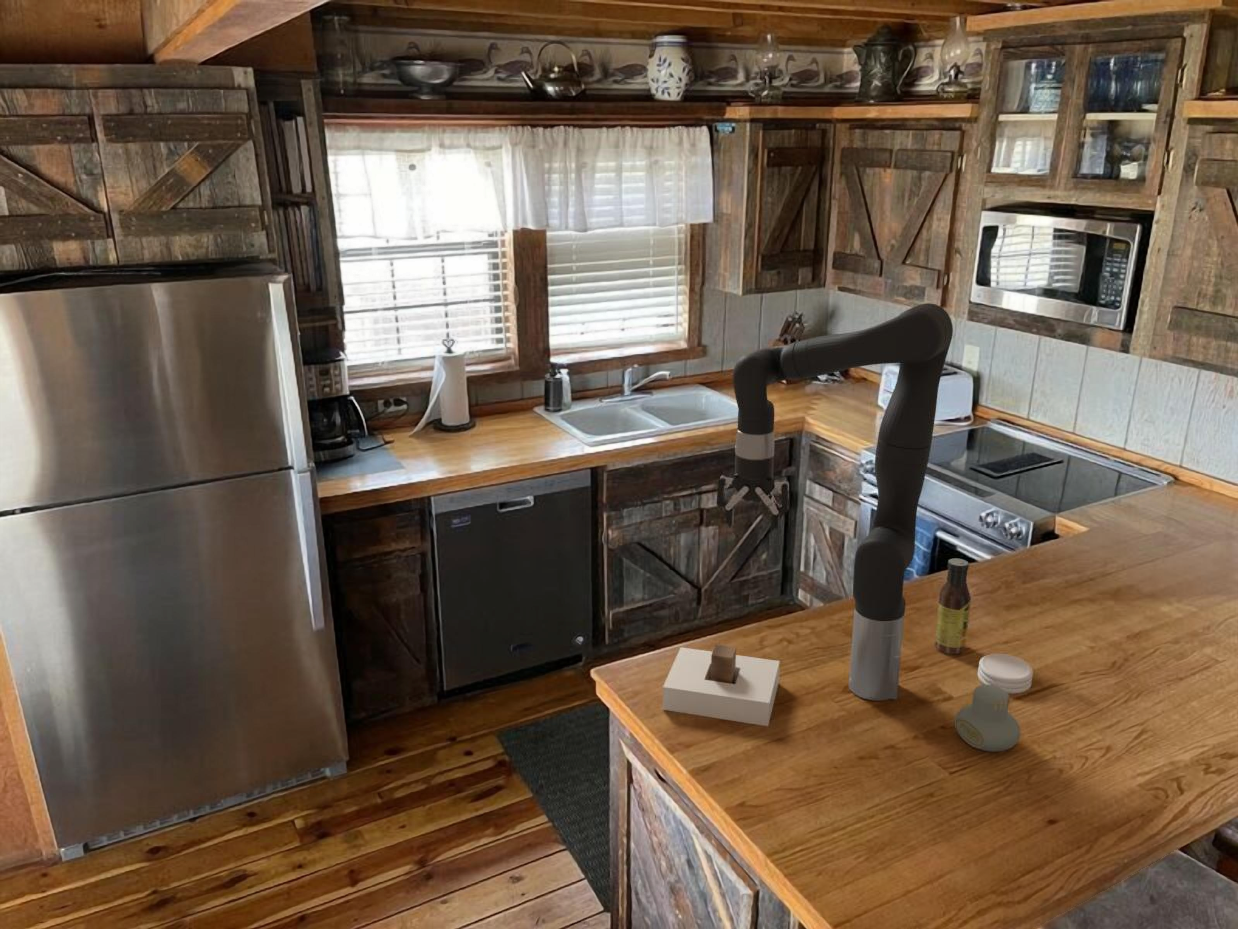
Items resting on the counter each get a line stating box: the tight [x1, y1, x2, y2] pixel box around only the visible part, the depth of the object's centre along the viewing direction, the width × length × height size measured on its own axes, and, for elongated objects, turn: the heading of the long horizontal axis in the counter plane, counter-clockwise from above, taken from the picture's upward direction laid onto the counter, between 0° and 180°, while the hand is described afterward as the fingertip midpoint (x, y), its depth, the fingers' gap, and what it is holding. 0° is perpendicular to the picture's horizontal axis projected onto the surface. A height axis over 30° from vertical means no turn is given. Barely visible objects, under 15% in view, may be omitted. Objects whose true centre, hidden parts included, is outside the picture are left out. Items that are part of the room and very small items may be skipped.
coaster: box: [977, 653, 1034, 695], centre depth 185 cm, size 10×10×4 cm
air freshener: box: [954, 684, 1021, 753], centre depth 165 cm, size 11×8×10 cm
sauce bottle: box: [934, 557, 972, 655], centre depth 194 cm, size 6×6×20 cm
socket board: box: [662, 646, 781, 727], centre depth 180 cm, size 20×15×5 cm
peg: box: [711, 644, 737, 684], centre depth 179 cm, size 4×4×10 cm
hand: (751, 527), depth 188 cm, fingers open, 8 cm apart
